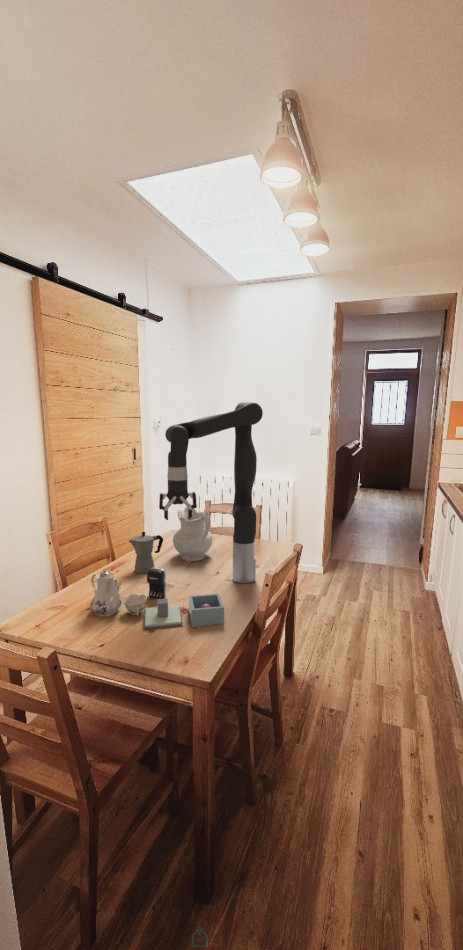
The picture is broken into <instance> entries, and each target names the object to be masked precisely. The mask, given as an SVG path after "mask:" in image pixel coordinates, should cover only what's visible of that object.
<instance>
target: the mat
mask: <svg viewBox="0 0 463 950" xmlns="http://www.w3.org/2000/svg"><path fill="white" fill-rule="evenodd" d="M179 609H180V616H181V624H175V625H164V626H153V627H145V611H146V608H145V609H143V626H142V629H143V630H145V631H146V630H156V629H164V628H165V629H167V628H178V627H184V625H183V617H182V610H181V606H179Z"/></svg>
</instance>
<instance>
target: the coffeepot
mask: <svg viewBox="0 0 463 950" xmlns="http://www.w3.org/2000/svg"><path fill="white" fill-rule="evenodd" d="M157 540H158V545H157V549H156V550H154V553H155V554H158V553H160V552H161V548H162V545H163V541H164V538H163V537H162V536H161V535H159V534H158V535H150V534H149V535H147V534H146V531H142V532H141V535H138V536H135V537H134V538H131V539H129V540H128V542H129V543H130V544H131V546H132V547H133V548H134V552H135V554H136V558H135V565H134V571H133V572H135V573H136V574H139V575H145V574H146V575H147V572H148V571H149V570H150V569H151V568H156V567H155V563H154V557H153V555H152V553H153V548H154V541H157Z"/></svg>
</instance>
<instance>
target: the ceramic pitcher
mask: <svg viewBox="0 0 463 950" xmlns="http://www.w3.org/2000/svg"><path fill="white" fill-rule="evenodd" d="M188 509H189V508H188V507H187V506H186V507H184V509H182V510H181V509H177V517H178V520H179V521H180V528H179V530H176V532H175V533H174V534H173V536H172V543H173V547H174V549H175V550H176V551H177V552H178V553H179V554H180V555H181V559H182V560H184V561H187V562H189V561H191V562H198V561H201V560H204V559H205V558H206V555H205V554H206V553H208V552H209V550H210V549H211V547H212V544H213V535H212V533H211V532H210V527H211V525H210V524H211V521H210V516H209V513H208V512H207V511H197V510H196V508H193V509H192V518H190V519H188Z"/></svg>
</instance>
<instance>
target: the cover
mask: <svg viewBox="0 0 463 950" xmlns="http://www.w3.org/2000/svg"><path fill="white" fill-rule="evenodd" d="M156 600H157V602H156V603H157V606H155V607H154V606H153V607H145V609H146V611H145V627H153V626H164V625H175V624H181V616H182V615H181V616H180V609H181V608H180V609H179V607H180V605H179V604H178V605H169V601H168V598H163V599H157V598H156Z"/></svg>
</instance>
